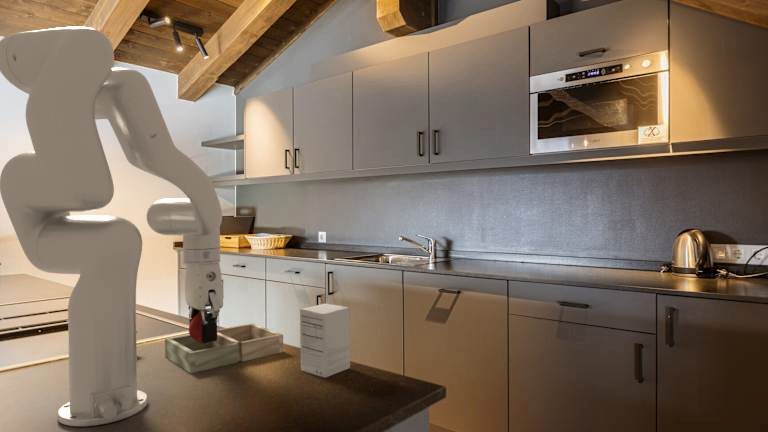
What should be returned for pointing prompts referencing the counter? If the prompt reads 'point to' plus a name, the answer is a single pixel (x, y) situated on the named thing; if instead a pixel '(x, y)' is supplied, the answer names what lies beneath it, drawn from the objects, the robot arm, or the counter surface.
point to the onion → (196, 328)
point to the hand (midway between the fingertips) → (203, 337)
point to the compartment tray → (223, 347)
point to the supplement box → (325, 339)
